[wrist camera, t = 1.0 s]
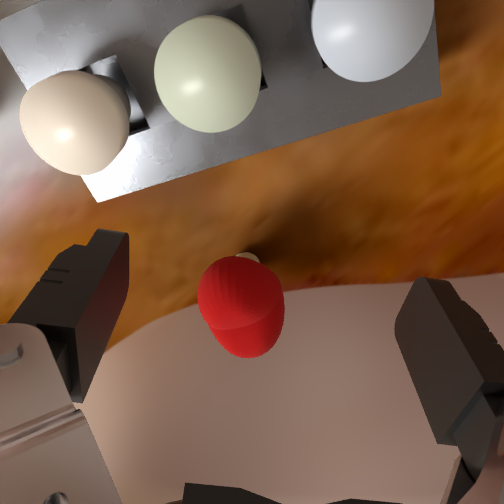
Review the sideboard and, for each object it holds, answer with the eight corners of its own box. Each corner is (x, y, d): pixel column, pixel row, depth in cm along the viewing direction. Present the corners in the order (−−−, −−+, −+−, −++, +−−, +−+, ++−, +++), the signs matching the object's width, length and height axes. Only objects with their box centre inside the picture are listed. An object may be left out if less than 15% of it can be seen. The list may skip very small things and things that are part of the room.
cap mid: (245, -6, 22) (238, 0, 18) (274, 90, 25) (273, 114, 20) (160, 29, 23) (134, 43, 19) (196, 117, 26) (181, 145, 22)
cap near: (397, -67, 20) (428, -76, 16) (409, 43, 23) (438, 60, 19) (295, -26, 21) (300, -25, 17) (319, 74, 24) (328, 96, 20)
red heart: (193, 229, 38) (170, 302, 29) (264, 208, 36) (260, 279, 28) (231, 300, 42) (220, 379, 34) (295, 284, 41) (299, 363, 33)
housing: (389, -143, 23) (421, -174, 18) (413, 74, 29) (441, 96, 24) (37, 15, 28) (-13, 25, 23) (123, 169, 34) (97, 202, 29)
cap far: (117, 46, 24) (84, 63, 20) (157, 130, 26) (135, 160, 22) (44, 76, 25) (-2, 98, 21) (89, 153, 28) (57, 186, 23)
